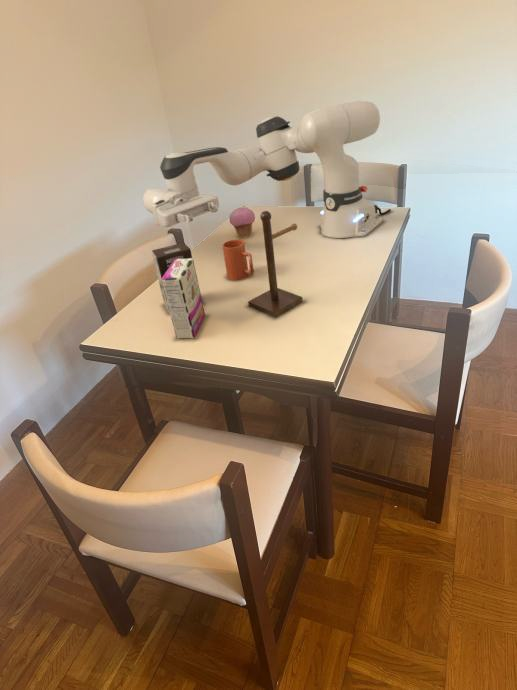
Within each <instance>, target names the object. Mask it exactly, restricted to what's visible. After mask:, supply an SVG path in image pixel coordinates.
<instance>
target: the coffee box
mask: <svg viewBox="0 0 517 690" xmlns="http://www.w3.org/2000/svg"><path fill="white" fill-rule="evenodd" d="M151 253H152V257H153V262H154V266H155V271H156V275H157V279H158V284H159V287H160V292H161V296H162V301H163V304H164V307H165V308H166V310H167V311H168V313H169V314H170V311H169V307H168V304H167V300H166V297H165V293H164V289H163V285H162V282H161V279H162V277H163V276H164V274H165V273H166V271H167V270H168V269H169V267H170V266H171V264H172V263H173V261H174V260H175V259H183V258H193V256H192V251H191V248H190V247H189V246H188V245H187V244H186V243H185V242H181V243H176V244H173V245H168V246H165V247H160V248H157V249H152V250H151Z"/></svg>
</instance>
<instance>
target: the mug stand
mask: <svg viewBox="0 0 517 690" xmlns="http://www.w3.org/2000/svg"><path fill="white" fill-rule="evenodd" d="M259 216H260V220H261V223H262V234H263V240H264V241H263V242H264V251H265V259H266V268H267V276H268V285H269V286H268V287H269V290H266V291H265V292H263V293H261V294H259V295H258V296H256V297H253V298H252V299H250V300H248V301H247V304H248V307H249V308H252V309H254V310H256V311H258V312H261V313H263V314H265V315H268V316H271V317H273V318H277V317H279V316H281V315H282V314H284V313H286V312H287V311H289V310H290V309H293V308H294V307H296V306H298V305H300V304H301V303H303V296H300V295H298V294H294V293H292V292H290V291H288V290H285V289H282V288H279V287H278V280H277V269H276V260H275V249H274V241H273V240H275V239H277V238H279V237H281V236H283V235H285V234H288V233H290V232H292V231H296V230H297V229H298V225H297V224H296V223H292V224H291V225H290V226H288V227H286V228H284V229H281V230H279V231H277V232H275V233H273V232H272V231H273V230H272V223H271V219H272V214H271V212H270V211H268V210H264V211H262V212H261V213H260V215H259Z"/></svg>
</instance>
